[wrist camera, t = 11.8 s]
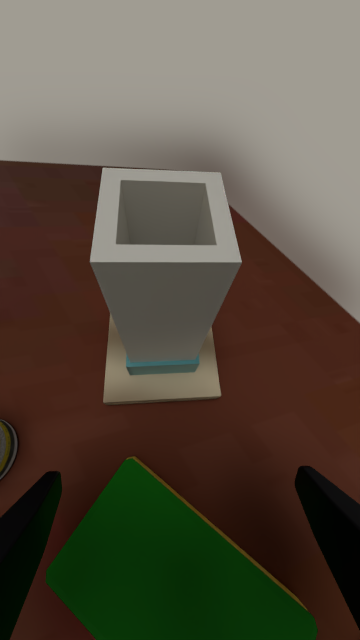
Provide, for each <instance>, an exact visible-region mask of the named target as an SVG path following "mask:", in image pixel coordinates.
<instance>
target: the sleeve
mask: <svg viewBox="0 0 360 640" xmlns="http://www.w3.org/2000/svg"><path fill="white" fill-rule="evenodd" d="M241 263H242V261H241V257H240V253H239V249H238V244H237V240H236V236H235V232H234V227H233V223H232V219H231V215H230V211H229V206H228V202H227V199H226V194H225V190H224V186H223V182H222V177H221V173H215V172H191V171H168V170H144V169H120V168H103V170H102V178H101V185H100V192H99V200H98V207H97V214H96V221H95V229H94V236H93V243H92V251H91V258H90V264H91V266H92V268H93V271H94V273H95V276H96V278H97V281H98V283H99V286H100V288H101V291H102V293H103V296H104V298H105V301H106V303H107V306H108V308H109V311H110V313H111V316H112V318H113V321H114V323H115V326H116V328H117V331H118V333H119V335H120V338H121V340H122V343H123V345H124V348H125V350H126V368H127V370H128V372H129V374H130V375H147V374H168V373H188V372H195V371H196V369H197V368H198V366H199V364H200V362H199V351H200V349H201V347H202V345H203V342H204V340H205V338H206V336H207V334H208V332H209V330H210V328H211V326H212V324H213V322H214V319H215V317H216V315H217V313H218V311H219V309H220V307H221V305H222V303H223V301H224V298H225V296H226V294H227V292H228V290H229V288H230V286H231V284H232V282H233V280H234V278H235V275H236V273H237V271H238V269H239V267H240V265H241Z"/></svg>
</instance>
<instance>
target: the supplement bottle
mask: <svg viewBox="0 0 360 640" xmlns="http://www.w3.org/2000/svg"><path fill="white" fill-rule="evenodd" d="M16 452H17V436H16V433H15V431H14V429H13V428H12V426H11V425H10V424H9V423H7V422H6V421H4V420H1V419H0V479H1V478H2V477H3V476H4V475H5V474H6V473H7V471H8V470H9V469H10V467H11V465H12V463H13V461H14V459H15V456H16Z"/></svg>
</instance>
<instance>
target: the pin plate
mask: <svg viewBox="0 0 360 640" xmlns="http://www.w3.org/2000/svg"><path fill="white" fill-rule="evenodd" d="M199 362H200V364H199V366H198V368H197V369H196V371H195V372H188V373H168V374H147V375H130V374H129V372H128V370H127V368H126V350H125V348H124V345H123V343H122V340H121V338H120V335H119V333H118V331H117V328H116V326H115V323H114V321H113V318H112V316H111V313H110V324H109V336H108V348H107V361H106V373H105V386H104V398H103V403H105V404H106V405H116V404H133V403H151V402H168V401H186V400H203V399H217V398H219V397H220V396H221V392H220V385H219V378H218V371H217V363H216V356H215V349H214V341H213V334H212V327H211V328H210V330H209V332H208V334H207V336H206V338H205V340H204V342H203V345H202V347H201V349H200V351H199Z"/></svg>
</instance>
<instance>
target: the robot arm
mask: <svg viewBox="0 0 360 640" xmlns="http://www.w3.org/2000/svg"><path fill="white" fill-rule="evenodd" d="M295 488H296V491H297V493H298V496H299V499H300V501H301V504H302V506H303V509H304V511H305V514H306V516H307V519H308V522H309V524H310V527H311V529H312V532H313V534H314V536H315V538H316V541H317V543H318V545H319V547H320V549H321V551H322V553H323V555H324V557H325V560H326V562H327V564H328V566H329V568H330V570H331V572H332V574H333V576H334V578H335V580H336V582H337V584H338V586H339V589H340V591H341V593H342V595H343V597H344V599H345V601H346V603H347V605H348V607H349V609H350V611H351V613H352V615H353V618H354V620H355V622H356V624H357V626H358V628H359V630H360V504H358V503H357V502H356V501H355V500H353V499H352V498H351V497H349V496H348V495H347V494H346V493H344V492H343V491H342V490H340V489H339V488H338V487H337V486H335V485H334V484H333V483H331V482H330V481H329V480H328V479H326V478H325V477H324V476H322V475H321V474H320V473H319V472H317V471H316V470H315V469H313V468H312V467H310V466H300V467H299V468H298V471H297V475H296V479H295ZM61 493H62V484H61V474H60V472H59V471H49V472H47V473H45V474H44V475H43V476H42V477H41V478H40V479H39V480H38V481H37V482H36V483H35V484H34V485H33V486H32V487H31V488H30V489H29V490H28V491H27V492H26V493H25V494H24V495H23V496H22V497H21V498H20V499H19V500H18V501H17V502H16V503H15V504H14V505H13V506H12V507H11V508H10V509H9V510H8V511H7V512H6V513H5V514H4V515H2V516H1V517H0V640H10V637H11V635H12V632H13V630H14V627H15V625H16V622H17V619H18V617H19V614H20V612H21V609H22V607H23V604H24V602H25V599H26V597H27V594H28V592H29V589H30V586H31V584H32V581H33V579H34V576H35V574H36V571H37V569H38V566H39V564H40V561H41V558H42V556H43V553H44V550H45V547H46V544H47V540H48V537H49V534H50V530H51V527H52V524H53V520H54V517H55V514H56V510H57V507H58V504H59V500H60V497H61Z"/></svg>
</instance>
